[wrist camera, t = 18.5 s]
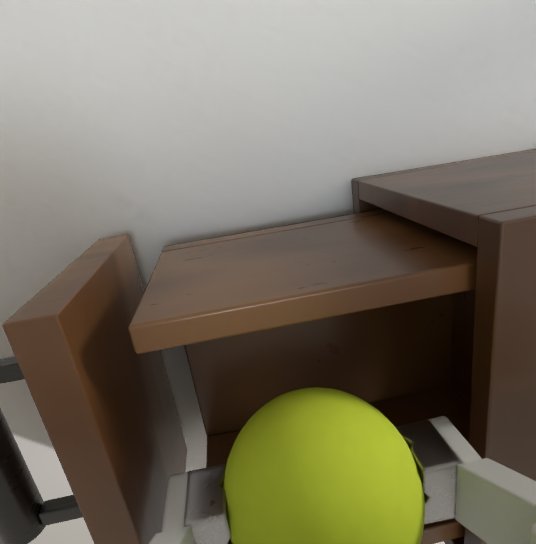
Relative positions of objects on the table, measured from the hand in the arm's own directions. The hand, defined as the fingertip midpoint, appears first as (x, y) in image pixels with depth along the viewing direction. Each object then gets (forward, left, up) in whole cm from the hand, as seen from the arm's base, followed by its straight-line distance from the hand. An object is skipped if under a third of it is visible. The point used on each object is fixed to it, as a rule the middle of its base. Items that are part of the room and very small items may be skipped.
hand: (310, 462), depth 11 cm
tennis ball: (0, 0, +1) cm, 1 cm away
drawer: (-1, 0, -8) cm, 8 cm away
